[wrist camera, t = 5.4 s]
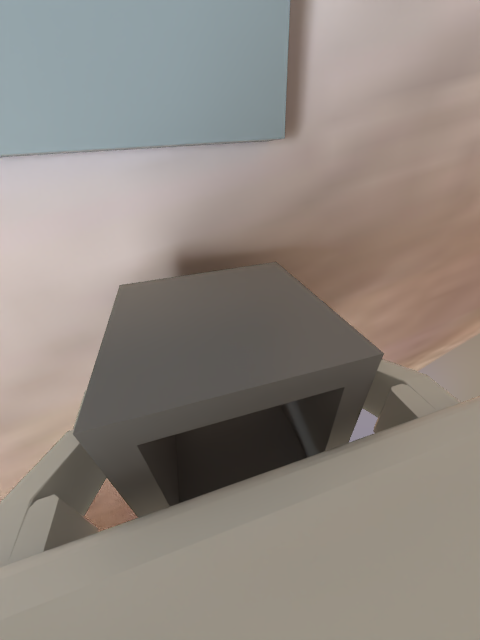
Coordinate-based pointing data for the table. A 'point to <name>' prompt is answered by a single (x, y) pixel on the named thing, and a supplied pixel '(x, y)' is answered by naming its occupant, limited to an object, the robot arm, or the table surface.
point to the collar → (219, 383)
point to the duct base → (140, 74)
